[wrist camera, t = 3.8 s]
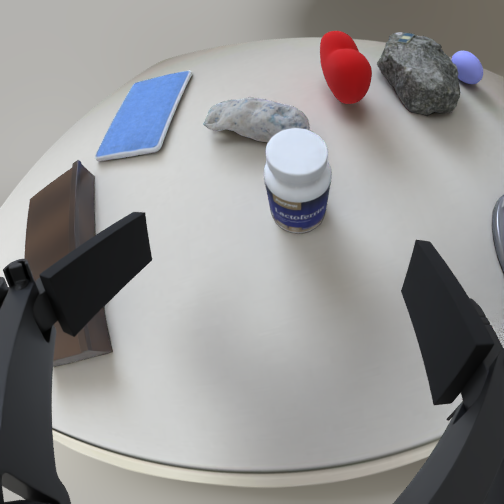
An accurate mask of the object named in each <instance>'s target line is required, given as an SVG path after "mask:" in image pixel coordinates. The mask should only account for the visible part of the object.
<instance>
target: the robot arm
mask: <svg viewBox="0 0 504 504" xmlns="http://www.w3.org/2000/svg"><path fill="white" fill-rule="evenodd" d="M492 226H493V237H494V243H495V248H496V252H497V255H498V259H499V262H500V264H501V267H502V269H503V272H504V195H503V196H502V197H500V198H499V200H498V201H497V203H496V205H495V208H494V212H493V222H492ZM151 261H152V256H151V250H150V244H149V238H148V231H147V224H146V217H145V213H142V212H133V213H131V214H129V215H128V216H126V217H124V218H123V219H121V220H119V221H118V222H116V223H114V224H113V225H111V226H110V227H108V228H106V229H105V230H103V231H102V232H100V233H98V234H97V235H95V236H94V237H92V238H91V239H89V240H88V241H86V242H85V243H83V244H82V245H80V246H79V247H77V248H76V249H74V250H73V251H71V252H70V253H68V254H67V255H66V256H64V257H63V258H61V259H60V260H59V261H57V262H56V263H54V264H53V265H52V266H50V267H49V268H47V269H46V270H45V271H43V272H42V273H41V274H39V276H40V278H38V279H37V280H36V281H35V280H34V277H33V274H32V272H31V269H30V266H29V263H28V261H27V260H26V259H19V260H16V261H14V262H12V263H10V264H9V265H7V266H6V267H5V268H4V269H3V272H4V275H5V277H6V280H7V282H8V285H9V287H8V286H7V284H6V281H5V279H4V278H3V277H0V504H71V502H70V498H69V495H68V492H67V490H66V488H65V486H64V485H63V484H62V482H61V481H60V479H59V478H58V475H57V472H56V467H55V458H54V448H53V435H52V373H53V359H54V348H55V340H56V328H55V326H54V324H55V323H56V322H57V321H58V322H59V324H60V326H61V328H62V330H63V332H65V333H67V334H69V335H71V336H73V337H75V336H76V335H77V334H78V333H79V332H80V331H81V330H82V329H83V327H84V326H85V325H86V324H87V323H88V322H89V321H90V320H91V319H92V318H93V317H94V316H95V315H96V314H97V313H98V312H99V311H100V310H101V309H102V308H103V307H104V306H105V305H106V304H107V303H108V302H109V301H110V300H111V299H112V298H113V297H114V296H115V295H116V294H117V293H118V292H119V291H120V290H121V289H122V288H123V287H124V286H125V285H126V284H127V283H128V282H129V281H130V280H131V279H132V278H134V277H135V276H136V275H137V274H138V273H139V272H140V271H141V270H142V269H143V268H144V267H145V266H146V265H147V264H148V263H149V262H151ZM401 292H402V295H403V298H404V301H405V303H406V306H407V309H408V312H409V315H410V318H411V321H412V324H413V327H414V330H415V333H416V337H417V340H418V343H419V347H420V350H421V354H422V357H423V361H424V365H425V369H426V373H427V377H428V381H429V385H430V390H431V394H432V399H433V404H434V405H440V404H450V403H452V402H453V401H454V400H455V399H456V397H457V396H458V395H459V394H460V393H461V395H462V398H463V401H462V403H461V404H460V405H459V406H458V407H457V408H456V409H455V410H454V412H453V413H452V414H451V415H450V416H449V417H448V418H447V420H448V421H449V420H450V419H451V418H452V419H451V421H450V423H449V425H448V426H447V428H446V430H445V432H444V433H443V435H442V437H441V439H440V440H439V442H438V443H437V445H436V447H435V448H434V450H433V451H432V453H431V454H430V456H429V457H428V459H427V460H426V462H425V463H424V465H423V466H422V468H421V469H420V471H419V472H418V473H417V474H416V476H415V477H414V478H413V480H412V481H411V482H410V484H409V485H408V486H407V487H406V489H405V490H404V491H403V493H402V494H401V495H400V496H399V497H398V498H397V500H396V501H395V502H394V503H393V504H504V349H503V347H502V345H501V343H500V341H499V339H498V337H497V335H496V333H495V331H494V330H493V328H492V326H491V325H490V322H489V321H488V319H487V318H486V316H485V314H484V312H483V311H482V309H481V307H480V306H479V305H478V304H477V303H476V302H475V301H474V300H473V299H469V297H468V296H467V294H466V292H465V291H464V289H463V288H462V286H461V285H460V283H459V282H458V280H457V279H456V277H455V276H454V274H453V273H452V271H451V270H450V268H449V267H448V266H447V264H446V263H445V261H444V260H443V259H442V257H441V256H440V254H439V253H438V252H437V250H436V249H435V248H434V246H433V245H432V244H431V242H428V241H422V240H416V241H415V245H414V249H413V253H412V257H411V260H410V264H409V267H408V271H407V274H406V277H405V280H404V284H403V287H402V290H401ZM2 486H4V487H5V488H7V489H9V490H10V491H12V492H14V493H16V494H18V495H19V496H21V497H23V498H24V499H25V500H17V501H10V502H4V499H3V491H2Z"/></svg>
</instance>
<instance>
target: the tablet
mask: <svg viewBox="0 0 504 504" xmlns="http://www.w3.org/2000/svg"><path fill="white" fill-rule="evenodd" d="M191 76H192V72H191V71H184V72H179V73H174V74H169V75H164V76H160V77H156V78H152V79H148V80H144V81H140V82H137V83H135V84H134V85H133V86H132V88H131V89H130V91H129V93H128V94H127V96H126V98H125V100H124V101H123V103H122V105H121V107H120V108H119V110H118V112H117V114H116V116H115V117H114V119H113V121H112V123H111V125H110V127H109V129H108V131H107V133H106V135H105V137H104V139H103V141H102V143H101V145H100V147H99V149H98V151H97V153H96V156H95V158H96V160H97V161H103V160H110V159H117V158H124V157H130V156H136V155H142V154H148V153H154V152H157V151H158V150H159V149H160V148H161V147H162V144H163V141H164V138H165V135H166V133H167V130H168V127H169V125H170V122H171V120H172V117H173V115H174V113H175V110H176V108H177V105H178V103H179V101H180V99H181V96H182V94H183V92H184V90H185V88H186V86H187V83H188V81H189V79H190V77H191Z"/></svg>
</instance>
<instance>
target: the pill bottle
mask: <svg viewBox="0 0 504 504" xmlns="http://www.w3.org/2000/svg"><path fill="white" fill-rule="evenodd" d="M266 160H267V162H266V164H265V167H264V180H265V185H266V190H267V195H268V200H269V205H270V210H271V214H272V216H273V219H274V220H275V222H276V223H277V224H278V225H279V226H280V227H281V228H283V229H284V230H286V231H289V232H293V233H304V232H308V231H310V230H313V229H314V228H316V227H317V226H318V225H319V224H320V223H321V221H322V220H323V218H324V215H325V211H326V206H327V200H328V195H329V190H330V184H331V177H332V172H331V167H330V164H329V162H328V149H327V146H326V144H325V142H324V141H323V139H322V138H321V137H319V136H318V135H317V134H315V133H314V132H312V131H309V130H306V129H301V128H291V129H286V130H283V131H280V132H279V133H277V134H275V135H274V136H273V137H272V138H271V139H270V140H269V142H268V144H267V146H266Z"/></svg>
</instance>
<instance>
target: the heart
mask: <svg viewBox="0 0 504 504" xmlns="http://www.w3.org/2000/svg"><path fill="white" fill-rule="evenodd" d="M320 59H321V66H322V70H323V74H324V77H325V79H326V82H327V84H328V86H329V88H330V89H331V91H332V93H333V94H334V96H335V97H336V98H337V99H338V100H339V101H340V102H342V103H344V104H353V103H356V102H358V101H360V100H361V99H362V98H363V97H364V96H365V95H366V93H367V91H368V89H369V86H370V82H371V77H372V71H371V66H370V64H369V62H368V60H367V59H366V58H365V57H364V56H363V55H362V54H361V53H360V52H359V51H358V49H357V46H356V44H355V43H354V41H353V40H352V38H351V37H350V36H349V35H347V34H345V33H343V32H340V31H331V32H328V33H326V34H325V35H324V36H323V37H322V39H321V43H320Z"/></svg>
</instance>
